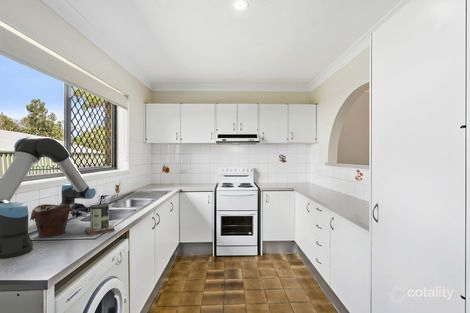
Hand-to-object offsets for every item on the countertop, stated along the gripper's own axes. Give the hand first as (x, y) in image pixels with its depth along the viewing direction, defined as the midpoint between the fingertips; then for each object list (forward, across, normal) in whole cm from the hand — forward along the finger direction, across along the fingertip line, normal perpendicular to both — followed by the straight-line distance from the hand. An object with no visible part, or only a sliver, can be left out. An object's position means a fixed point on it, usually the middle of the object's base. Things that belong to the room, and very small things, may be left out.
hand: (96, 212), depth 156 cm
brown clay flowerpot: (-16, +17, -11) cm, 26 cm away
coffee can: (+3, 0, -10) cm, 10 cm away
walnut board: (+3, 0, -11) cm, 11 cm away
